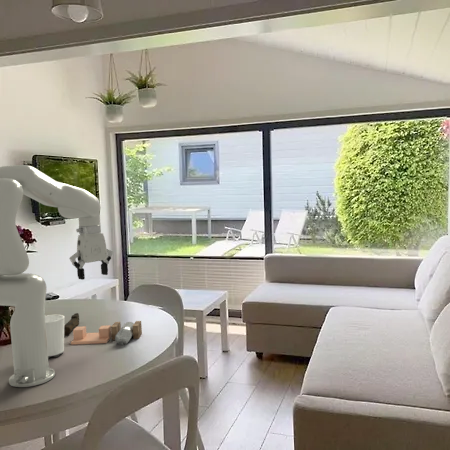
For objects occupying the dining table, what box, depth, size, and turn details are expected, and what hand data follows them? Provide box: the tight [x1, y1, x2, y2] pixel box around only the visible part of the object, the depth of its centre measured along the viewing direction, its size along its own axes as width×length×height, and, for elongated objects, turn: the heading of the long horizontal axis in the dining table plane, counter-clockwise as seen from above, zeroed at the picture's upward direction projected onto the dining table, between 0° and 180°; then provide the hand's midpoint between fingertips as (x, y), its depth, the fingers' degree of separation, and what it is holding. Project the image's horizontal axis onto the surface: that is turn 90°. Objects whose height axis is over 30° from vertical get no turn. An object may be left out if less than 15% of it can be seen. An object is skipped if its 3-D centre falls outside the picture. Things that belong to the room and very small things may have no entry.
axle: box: [114, 321, 135, 346], centre depth 169 cm, size 12×5×5 cm, turn 179°
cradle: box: [70, 324, 112, 345], centre depth 171 cm, size 10×13×4 cm
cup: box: [45, 314, 66, 359], centre depth 155 cm, size 10×10×13 cm
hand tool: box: [64, 312, 80, 337], centre depth 186 cm, size 19×4×5 cm, turn 0°
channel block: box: [111, 320, 143, 341], centre depth 172 cm, size 6×10×5 cm, turn 89°
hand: (93, 276), depth 168 cm, fingers open, 9 cm apart
